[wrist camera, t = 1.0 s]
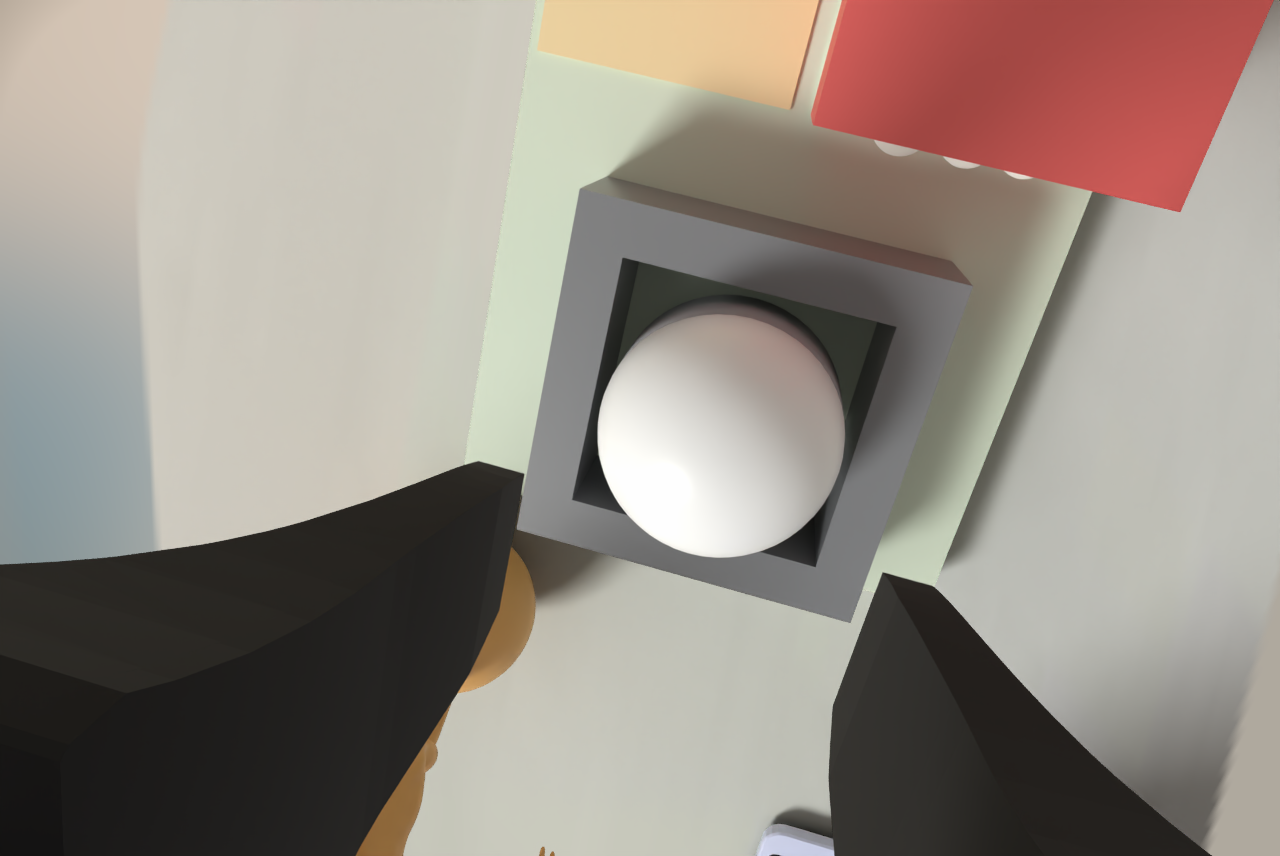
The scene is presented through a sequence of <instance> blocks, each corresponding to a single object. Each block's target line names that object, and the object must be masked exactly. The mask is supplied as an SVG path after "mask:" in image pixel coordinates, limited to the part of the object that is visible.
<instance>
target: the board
mask: <svg viewBox="0 0 1280 856" xmlns="http://www.w3.org/2000/svg"><path fill="white" fill-rule="evenodd" d="M841 2H842V0H536V4H535V10H534V17H533V23H532V30H531V36H530V42H529V49H528V55H527V62H526V68H525V75H524V81H523V87H522V94H521V100H520V107H519V113H518V120H517V126H516V132H515V139H514V145H513V152H512V158H511V165H510V171H509V178H508V184H507V190H506V197H505V203H504V210H503V216H502V223H501V229H500V235H499V242H498V248H497V255H496V261H495V268H494V274H493V280H492V287H491V293H490V300H489V306H488V313H487V319H486V326H485V332H484V338H483V345H482V351H481V358H480V364H479V371H478V377H477V383H476V390H475V396H474V403H473V409H472V416H471V422H470V428H469V435H468V441H467V448H466V454H465V461H464V465H466V464H469V463H473V462H477V461H480V462H484V463H488V464H491V465H495V466H499V467H502V468H506V469H510V470H513V471H517V472H520V473H524V480H523V485H522V491H521V495H522V496H523V491H524V486H525V480H526V475H527V470H528V464H529V459H530V453H531V448H532V443H533V437H534V432H535V427H536V421H537V416H538V410H539V405H540V400H541V394H542V389H543V383H544V378H545V373H546V367H547V362H548V357H549V351H550V346H551V340H552V335H553V330H554V324H555V319H556V314H557V308H558V303H559V297H560V292H561V287H562V281H563V276H564V270H565V265H566V260H567V254H568V249H569V244H570V238H571V233H572V227H573V222H574V217H575V211H576V206H577V201H578V195H579V190H580V188H582V187H584V186H586V185H589V184H591V183H593V182H595V181H597V180H600V179H602V178H604V177H606V176H608V177H612V178H617V179H621V180H625V181H629V182H633V183H637V184H641V185H645V186H649V187H653V188H657V189H661V190H665V191H669V192H673V193H677V194H681V195H686V196H690V197H694V198H698V199H702V200H706V201H710V202H714V203H718V204H722V205H726V206H730V207H734V208H738V209H742V210H746V211H750V212H755V213H759V214H763V215H767V216H771V217H775V218H779V219H783V220H787V221H791V222H795V223H799V224H803V225H807V226H811V227H815V228H819V229H824V230H828V231H832V232H836V233H840V234H844V235H848V236H852V237H856V238H860V239H864V240H868V241H872V242H876V243H880V244H884V245H888V246H892V247H897V248H901V249H905V250H909V251H913V252H917V253H921V254H925V255H929V256H933V257H937V258H941V259H945V260H949V261H952V262H953V263H954V264H955V265H956V266H957V268H958V269H959V270H960V271H961V272H962V273H963V275H964V276H965V277H966V278H967V279H968V280H969V282H970V283H971V284H972V285H973V288H972V291H971V294H970V296H969V299H968V302H967V305H966V307H965V310H964V313H963V316H962V318H961V321H960V324H959V327H958V329H957V332H956V335H955V338H954V340H953V343H952V346H951V349H950V351H949V354H948V357H947V359H946V362H945V365H944V368H943V370H942V373H941V376H940V379H939V381H938V384H937V387H936V390H935V392H934V395H933V398H932V401H931V403H930V406H929V409H928V412H927V414H926V417H925V420H924V423H923V425H922V428H921V431H920V433H919V436H918V439H917V442H916V444H915V447H914V450H913V453H912V455H911V458H910V461H909V464H908V466H907V469H906V472H905V475H904V477H903V480H902V483H901V486H900V488H899V491H898V494H897V497H896V499H895V502H894V505H893V507H892V510H891V513H890V516H889V518H888V521H887V524H886V527H885V529H884V532H883V535H882V538H881V540H880V543H879V546H878V549H877V551H876V554H875V557H874V560H873V562H872V565H871V568H870V571H869V573H868V576H867V579H866V581H865V584H864V587H863V590H865V591H869V592H872V593H875V591H876V589H877V586H878V583H879V581H880V578H881V575H882V572H884V573H888V574H891V575H895V576H899V577H902V578H906V579H909V580H913V581H917V582H920V583H924V584H928V585H931V586H933V587H934V586H935V584H936V581H937V579H938V576H939V574H940V571H941V569H942V566H943V564H944V561H945V559H946V556H947V554H948V551H949V549H950V546H951V544H952V541H953V539H954V536H955V534H956V531H957V529H958V526H959V524H960V521H961V519H962V516H963V514H964V511H965V509H966V506H967V504H968V501H969V499H970V496H971V494H972V491H973V489H974V486H975V484H976V481H977V479H978V476H979V474H980V471H981V469H982V466H983V464H984V461H985V459H986V456H987V454H988V451H989V449H990V446H991V444H992V441H993V439H994V436H995V434H996V431H997V429H998V426H999V424H1000V421H1001V419H1002V416H1003V414H1004V411H1005V409H1006V406H1007V404H1008V401H1009V399H1010V396H1011V394H1012V391H1013V389H1014V386H1015V384H1016V381H1017V379H1018V376H1019V374H1020V371H1021V369H1022V366H1023V364H1024V361H1025V359H1026V356H1027V354H1028V351H1029V349H1030V346H1031V344H1032V341H1033V339H1034V336H1035V334H1036V331H1037V329H1038V326H1039V324H1040V321H1041V319H1042V316H1043V314H1044V311H1045V309H1046V306H1047V304H1048V301H1049V299H1050V296H1051V294H1052V291H1053V289H1054V286H1055V284H1056V281H1057V279H1058V276H1059V274H1060V271H1061V269H1062V266H1063V264H1064V261H1065V259H1066V256H1067V254H1068V251H1069V249H1070V246H1071V244H1072V241H1073V239H1074V236H1075V234H1076V231H1077V229H1078V226H1079V224H1080V221H1081V219H1082V216H1083V214H1084V211H1085V209H1086V206H1087V204H1088V201H1089V199H1090V196H1091V194H1092V191H1088V190H1084V189H1080V188H1076V187H1071V186H1067V185H1063V184H1059V183H1055V182H1050V181H1046V180H1042V179H1038V178H1031V179H1017V178H1014V177H1012V176H1010V175H1008V174H1007V173H1006V172H1005V171H1004V170H1000V169H996V168H991V167H987V166H983V165H980V166H978V167H975V168H969V169H963V168H958V167H955V166H953V165H951V164H950V163H949V162H948V161H946V159H945V158H944V157H943V156H941V155H937V154H932V153H928V152H924V151H920V150H919V151H917V152H915V153H913V154H911V155H907V156H893V155H889V154H887V153H885V152H884V151H882V150H881V149H880V148H879V147H878V146H877V144H876V143H875V141H874V139H869V138H865V137H861V136H857V135H852V134H848V133H844V132H840V131H836V130H831V129H827V128H823V127H819V126H815V125H813V124H812V119H811V111H812V108H813V104H814V100H815V97H816V93H817V89H818V86H819V82H820V78H821V75H822V71H823V67H824V64H825V60H826V56H827V53H828V49H829V45H830V42H831V38H832V35H833V31H834V27H835V24H836V20H837V16H838V13H839V9H840V5H841ZM712 295H742V296H747V297H752V298H757V299H760V300H763V301H766V302H769V303H772V304H774V305H776V306H778V307H780V308H782V309H784V310H786V311H788V312H789V313H791V314H792V315H794V316H795V317H797V318H798V319H799V320H800V321H802V322H803V323H804V324H805V325H806V326H808V327H809V328H810V329H811V331H812V332H813V333H814V334H815V335H816V336H817V337H818V338H819V340H820V341H821V343H822V344H823V346H824V347H825V349H826V350H827V352H828V354H829V356H830V358H831V360H832V362H833V364H834V366H835V369H836V372H837V375H838V379H839V384H840V390H841V397H842V405H843V413H844V422H845V419H846V416H847V413H848V410H849V407H850V404H851V401H852V398H853V395H854V392H855V389H856V386H857V383H858V380H859V376H860V373H861V370H862V367H863V364H864V361H865V358H866V355H867V352H868V349H869V346H870V343H871V340H872V337H873V334H874V331H875V328H876V325H877V322H876V321H872V320H868V319H864V318H860V317H856V316H852V315H848V314H844V313H840V312H836V311H832V310H828V309H824V308H820V307H816V306H813V305H809V304H805V303H801V302H797V301H793V300H789V299H785V298H781V297H777V296H773V295H769V294H765V293H761V292H757V291H753V290H749V289H745V288H741V287H738V286H734V285H730V284H726V283H722V282H718V281H714V280H710V279H706V278H702V277H698V276H694V275H690V274H686V273H682V272H678V271H674V270H670V269H666V268H663V267H659V266H655V265H651V264H647V263H643V262H639V265H638V269H637V274H636V278H635V283H634V288H633V292H632V297H631V301H630V306H629V311H628V315H627V320H626V324H625V329H624V334H623V338H622V343H621V347H620V352H619V357H618V361H617V366H616V369H617V367H618V366H619V364H620V362H621V361H622V359H623V358H624V356H625V355H626V353H627V352H628V350H629V349H630V347H631V346H632V344H633V343H634V341H635V340H636V339H637V337H638V336H639V335H640V334H641V333H642V331H643V330H644V329H645V328H646V327H647V326H648V325H649V324H650V323H651V322H653V321H654V320H655V319H656V318H657V317H659V316H660V315H662V314H663V313H665V312H666V311H668V310H669V309H671V308H673V307H675V306H677V305H679V304H681V303H684V302H687V301H690V300H693V299H696V298H701V297H706V296H712ZM597 455H599V450H598V453H597Z"/></svg>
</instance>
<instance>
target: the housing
mask: <svg viewBox="0 0 1280 856" xmlns="http://www.w3.org/2000/svg"><path fill="white" fill-rule="evenodd" d="M639 262H643V263H647V264H651V265H655V266H659V267H663V268H666V269H670V270H674V271H678V272H682V273H686V274H690V275H694V276H698V277H702V278H706V279H710V280H714V281H718V282H722V283H726V284H730V285H734V286H738V287H741V288H745V289H749V290H753V291H757V292H761V293H765V294H769V295H773V296H777V297H781V298H785V299H789V300H793V301H797V302H801V303H805V304H809V305H813V306H816V307H820V308H824V309H828V310H832V311H836V312H840V313H844V314H848V315H852V316H856V317H860V318H864V319H868V320H872V321H876V322H877V325H876V328H875V331H874V334H873V337H872V340H871V343H870V346H869V349H868V352H867V355H866V358H865V361H864V364H863V367H862V370H861V373H860V376H859V380H858V383H857V386H856V389H855V392H854V395H853V398H852V401H851V404H850V407H849V410H848V413H847V416H846V419H845V443H844V452H843V459H842V463H841V467H840V471H839V474H838V476H837V479H836V481H835V484H834V486H833V488H832V490H831V492H830V494H829V496H828V497H827V499H826V501H825V502H824V504H823V505H822V507H821V508H820V509H819V510H818V512H817V513H816V514H815V516H814V517H813V518H812V519H810V520H809V521H808V522H807V523H806V524H805V525H804V526H803V527H802V528H801V529H800V530H799V531H797V532H796V533H795V534H793V535H792V536H791V537H789V538H788V539H786V540H784V541H782V542H781V543H779V544H777V545H775V546H773V547H770V548H768V549H765V550H763V551H760V552H756V553H752V554H748V555H744V556H737V557H724V558H714V557H704V556H698V555H694V554H689V553H686V552H683V551H680V550H677V549H674V548H672V547H670V546H668V545H666V544H664V543H662V542H660V541H658V540H657V539H655V538H654V537H652V536H650V535H649V534H648V533H647V532H645V531H644V530H643V529H642V528H640V527H639V526H638V525H637V524H636V523H635V522H634V521H633V520H632V519H631V518H630V517H629V516H628V515H627V514H626V512H625V511H624V510H623V508H622V507H621V506H620V505H619V503H618V502H617V500H616V498H615V497H614V495H613V493H612V491H611V490H610V487H609V485H608V482H607V480H606V478H605V475H604V472H603V469H602V465H601V461H600V457H599V455H597V453H598V419H599V412H600V407H601V403H602V400H603V396H604V393H605V391H606V389H607V386H608V384H609V382H610V380H611V377H612V375H613V373H614V372H615V370H616V366H617V361H618V357H619V352H620V347H621V343H622V338H623V334H624V329H625V324H626V320H627V315H628V311H629V306H630V301H631V297H632V292H633V288H634V283H635V278H636V274H637V269H638V265H639ZM972 288H973V285H972V284H971V283H970V282H969V280H968V279H967V278H966V277H965V276H964V275H963V273H962V272H961V271H960V270H959V269H958V268H957V266H956V265H955V264H954V263H953V262H952V261H949V260H945V259H941V258H937V257H933V256H929V255H925V254H921V253H917V252H913V251H909V250H905V249H901V248H897V247H892V246H888V245H884V244H880V243H876V242H872V241H868V240H864V239H860V238H856V237H852V236H848V235H844V234H840V233H836V232H832V231H828V230H824V229H819V228H815V227H811V226H807V225H803V224H799V223H795V222H791V221H787V220H783V219H779V218H775V217H771V216H767V215H763V214H759V213H755V212H750V211H746V210H742V209H738V208H734V207H730V206H726V205H722V204H718V203H714V202H710V201H706V200H702V199H698V198H694V197H690V196H686V195H681V194H677V193H673V192H669V191H665V190H661V189H657V188H653V187H649V186H645V185H641V184H637V183H633V182H629V181H625V180H621V179H617V178H612V177H608V176H606V177H604V178H602V179H600V180H597V181H595V182H593V183H591V184H589V185H586V186H584V187H582V188H580V190H579V195H578V201H577V206H576V211H575V217H574V222H573V227H572V233H571V238H570V244H569V249H568V254H567V260H566V265H565V270H564V276H563V281H562V287H561V292H560V297H559V303H558V308H557V314H556V319H555V324H554V330H553V335H552V340H551V346H550V351H549V357H548V362H547V367H546V373H545V378H544V383H543V389H542V394H541V400H540V405H539V410H538V416H537V421H536V427H535V432H534V437H533V443H532V448H531V453H530V459H529V464H528V470H527V475H526V480H525V486H524V491H523V497H522V502H521V507H520V513H519V518H518V523H517V530H520V531H524V532H527V533H531V534H535V535H538V536H542V537H545V538H549V539H552V540H556V541H560V542H563V543H567V544H570V545H574V546H577V547H581V548H584V549H588V550H592V551H595V552H599V553H602V554H606V555H609V556H613V557H617V558H620V559H624V560H627V561H631V562H634V563H638V564H642V565H645V566H649V567H652V568H656V569H659V570H663V571H667V572H670V573H674V574H677V575H681V576H684V577H688V578H691V579H695V580H699V581H702V582H706V583H709V584H713V585H716V586H720V587H724V588H727V589H731V590H734V591H738V592H741V593H745V594H749V595H752V596H756V597H759V598H763V599H766V600H770V601H774V602H777V603H781V604H784V605H788V606H791V607H795V608H799V609H802V610H806V611H809V612H813V613H816V614H820V615H823V616H827V617H831V618H834V619H838V620H841V621H845V622H848V623H851V620H852V617H853V614H854V612H855V609H856V606H857V603H858V601H859V598H860V595H861V592H862V590H863V587H864V584H865V581H866V579H867V576H868V573H869V571H870V568H871V565H872V562H873V560H874V557H875V554H876V551H877V549H878V546H879V543H880V540H881V538H882V535H883V532H884V529H885V527H886V524H887V521H888V518H889V516H890V513H891V510H892V507H893V505H894V502H895V499H896V497H897V494H898V491H899V488H900V486H901V483H902V480H903V477H904V475H905V472H906V469H907V466H908V464H909V461H910V458H911V455H912V453H913V450H914V447H915V444H916V442H917V439H918V436H919V433H920V431H921V428H922V425H923V423H924V420H925V417H926V414H927V412H928V409H929V406H930V403H931V401H932V398H933V395H934V392H935V390H936V387H937V384H938V381H939V379H940V376H941V373H942V370H943V368H944V365H945V362H946V359H947V357H948V354H949V351H950V349H951V346H952V343H953V340H954V338H955V335H956V332H957V329H958V327H959V324H960V321H961V318H962V316H963V313H964V310H965V307H966V305H967V302H968V299H969V296H970V294H971V291H972Z"/></svg>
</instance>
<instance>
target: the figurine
mask: <svg viewBox="0 0 1280 856" xmlns="http://www.w3.org/2000/svg"><path fill="white" fill-rule="evenodd" d="M534 618H535V592H534V587H533V583H532V580H531V577H530V574H529V572H528V569H527V567H526V566H525V564H524V562H523V560H522V559H521V557H520V556H519V555H518V553H517V552H516V551H515V550H514V549H513V548H512V547H511V550H510V556H509V561H508V566H507V572H506V577H505V583H504V588H503V593H502V599H501V604H500V610H499V612H498V614H497V616H496V619H495V621H494V623H493V625H492V627H491V630H490V632H489V634H488V636H487V638H486V641H485V643H484V645H483V647H482V649H481V651H480V653H479V655H478V657H477V660H476V662H475V664H474V666H473V668H472V670H471V672H470V674H469V676H468V677H467V679H466V680H465V682H464V684H463V685H462V687H461V688H460V690H459V691H458V693H462V692H466V691H470V690H474V689H476V688H479V687H481V686H484V685H486V684H488V683H489V682H491V681H493V680H494V679H496V678H497V677H499V676H500V675H501V674H503V673H504V672H505V671H506V670H507V669H508V668H509V667H510V666H511V665H512V664H513V663H514V662H515V661H516V659H517V658H518V657H519V655H520V654H521V652H522V651H523V649H524V647H525V645H526V643H527V641H528V639H529V637H530V634H531V631H532V627H533V623H534ZM450 705H451V704H450ZM449 708H450V706H449V707H448V709H447V710H446V712H445V713H444V715H443V717H442V718H441V720H440V721H439V723H438V724H437V726H436V727H435V729H434V730H433V732H432V734H431V735H430V737H429V738H428V740H427V741H426V743H425V744H424V746H423V747H422V749H421V751H420V752H419V754H418V755H417V757H416V758H415V760H414V761H413V763H412V764H411V766H410V768H409V769H408V771H407V772H406V774H405V775H404V777H403V778H402V780H401V781H400V783H399V785H398V786H397V788H396V789H395V791H394V792H393V794H392V795H391V797H390V798H389V800H388V801H387V803H386V805H385V806H384V808H383V809H382V811H381V812H380V814H379V816H378V817H377V819H376V821H375V823H374V824H373V826H372V828H371V829H370V831H369V833H368V834H367V836H366V838H365V840H364V841H363V843H362V845H361V846H360V848H359V850H358V852H357V854H356V856H403V853H404V848H405V844H406V841H407V838H408V835H409V833H410V831H411V829H412V827H413V825H414V823H415V820H416V818H417V815H418V812H419V809H420V806H421V802H422V797H423V789H424V781H425V772H427V771H428V770H429V769H430V768H431V767H432V766H433V765H434V764H435V762H436V759H437V756H438V751H437V747H436V745H435V744H436V742H437V740H438V737H439V735H440V732H441V730H442V727H443V725H444V722H445V719H446V716H447V714H448V711H449ZM544 854H545V848H544V847H542V848H541V850H540V854H539V856H544ZM550 856H555V855H554V852H551V854H550Z"/></svg>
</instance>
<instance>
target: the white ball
mask: <svg viewBox="0 0 1280 856" xmlns="http://www.w3.org/2000/svg"><path fill="white" fill-rule="evenodd" d="M844 443H845V422H844V413H843V405H842V397H841V390H840V384H839V379H838V375H837V372H836V369H835V366H834V364H833V362H832V360H831V358H830V356H829V354H828V352H827V350H826V349H825V347H824V346H823V344H822V343H821V341H820V340H819V338H818V337H817V336H816V335H815V334H814V333H813V332H812V331H811V329H810V328H809V327H808V326H806V325H805V324H804V323H803V322H802V321H800V320H799V319H798V318H797V317H795V316H794V315H792V314H791V313H789V312H788V311H786V310H784V309H782V308H780V307H778V306H776V305H774V304H772V303H769V302H766V301H763V300H760V299H757V298H752V297H747V296H742V295H712V296H706V297H701V298H696V299H693V300H690V301H687V302H684V303H681V304H679V305H677V306H675V307H673V308H671V309H669V310H668V311H666V312H665V313H663V314H662V315H660V316H659V317H657V318H656V319H655V320H654V321H653V322H651V323H650V324H649V325H648V326H647V327H646V328H645V329H644V330H643V331H642V333H641V334H640V335H639V336H638V337H637V339H636V340H635V341H634V343H633V344H632V346H631V347H630V349H629V350H628V352H627V353H626V355H625V356H624V358H623V359H622V361H621V362H620V364H619V366H618V367H617V369H616V370H615V372H614V373H613V375H612V377H611V380H610V382H609V384H608V386H607V389H606V391H605V393H604V396H603V400H602V403H601V407H600V412H599V419H598V450H599V457H600V461H601V465H602V469H603V472H604V475H605V478H606V480H607V482H608V485H609V487H610V490H611V491H612V493H613V495H614V497H615V498H616V500H617V502H618V503H619V505H620V506H621V507H622V508H623V510H624V511H625V512H626V514H627V515H628V516H629V517H630V518H631V519H632V520H633V521H634V522H635V523H636V524H637V525H638V526H639V527H640V528H642V529H643V530H644V531H645V532H647V533H648V534H649V535H650V536H652V537H654V538H655V539H657V540H658V541H660V542H662V543H664V544H666V545H668V546H670V547H672V548H674V549H677V550H680V551H683V552H686V553H689V554H694V555H698V556H704V557H714V558H724V557H737V556H744V555H748V554H752V553H756V552H760V551H763V550H765V549H768V548H770V547H773V546H775V545H777V544H779V543H781V542H782V541H784V540H786V539H788V538H789V537H791V536H792V535H793V534H795V533H796V532H797V531H799V530H800V529H801V528H802V527H803V526H804V525H805V524H806V523H807V522H808V521H809V520H810V519H812V518H813V517H814V516H815V514H816V513H817V512H818V510H819V509H820V508H821V507H822V505H823V504H824V502H825V501H826V499H827V497H828V496H829V494H830V492H831V490H832V488H833V486H834V484H835V481H836V479H837V476H838V474H839V471H840V467H841V463H842V459H843V452H844Z"/></svg>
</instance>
